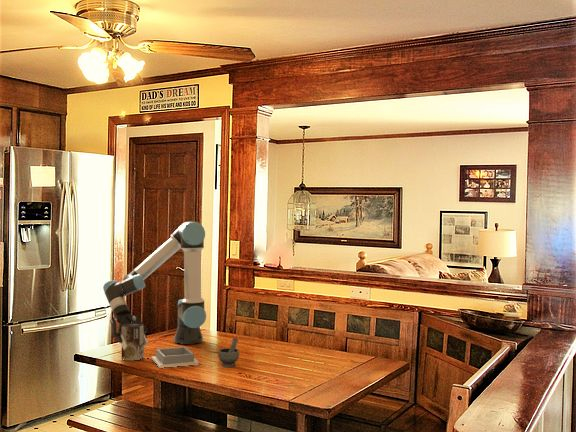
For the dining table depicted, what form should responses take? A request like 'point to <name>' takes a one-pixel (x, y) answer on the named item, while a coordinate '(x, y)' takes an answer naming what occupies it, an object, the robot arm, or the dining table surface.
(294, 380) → the dining table surface
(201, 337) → the robot arm
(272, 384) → the dining table surface
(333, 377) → the dining table surface
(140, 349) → the coffee box
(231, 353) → the mortar and pestle
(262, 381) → the dining table surface
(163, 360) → the collar tray
